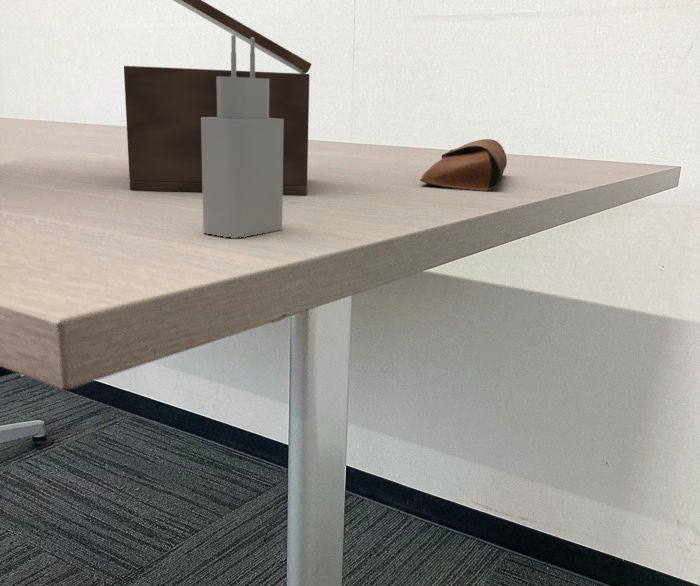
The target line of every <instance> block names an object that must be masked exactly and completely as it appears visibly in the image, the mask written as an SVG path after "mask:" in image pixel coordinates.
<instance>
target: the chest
mask: <svg viewBox="0 0 700 586" xmlns="http://www.w3.org/2000/svg"><path fill="white" fill-rule="evenodd" d="M216 76H224V77H231V69H229V70H228V69H209V68H207V69H206V68H183V67H162V66H140V65H139V66H138V65H124V66H123V78H124V79H123V80H124V82H123V83H124V98H125V100H124V101H125V102H124V103H125V115H126V116H125V117H126V119H125V121H126V135H127V137H126V139H127V141H126V142H127V157H128V158H127V159H128V180H129V190H130V191H147V192H148V191H150V192H151V191H152V192H179V193H180V192H182V193H183V192H184V193H203V192H202V143H201V117H217V81H216ZM236 77H245V78H250V70H236ZM310 77H311V76H310V73H305V74H301V73H299V72H297V73H295V72H273V71H255V78H263V79H269V118H277V119H284V129H283V195H284V196H285V195H286V196H287V195H289V196H307V195H308V168H309V167H308V166H309V165H308V163H309V160H308V159H309V122H310V121H309V117H310V116H309V114H310Z"/></svg>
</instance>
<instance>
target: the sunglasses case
mask: <svg viewBox="0 0 700 586" xmlns="http://www.w3.org/2000/svg"><path fill="white" fill-rule="evenodd" d="M440 156H441V159H440V160H438V161H436V162H435V163H434V164H433V165H432V166H430V167H429V168H428V169H427V170H426V171H425V172H424V173H423V174H422V175H421V177H420V179H419V180H420V182H421V183H425V184H427V185H433V186H437V187H442V188H445V189H451V190H461V191H463V190H464V191H473V192H474V191H476V192H481V191H482V192H489V191H490V190H492V189H494V188H496V186H497V185H498V184H500V183H501V181H502V178H503V176H504V175H503V174H504V171H505V170H506V167H507V164H508V160H507V155H506V152H505V149H504V147H503V146H502V144H501V143H500V142H498V141H497V140H495V139H492V138H483V139H478V140H474V141H470V142H468V143H465V144H463V145H461V146H459V147H457V148H451V149H450V150H449V151H447V152H445V153H443V154H441V155H440Z"/></svg>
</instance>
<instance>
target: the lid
mask: <svg viewBox="0 0 700 586" xmlns="http://www.w3.org/2000/svg"><path fill="white" fill-rule="evenodd" d="M172 1H173V2H175V3H177V4H179V5H180V6H182V7H184V8H186V9H188V10H189V11H191V12H193V13H194V14H196V15H198V16H200V17H201V18H204V19H205V20H207V21H208V22H210V23H211V24H214V25H215V26H217V27H218V28H220V29H223V30H224V31H226V32H227V33H230V34H231V35H235V36H236V38H238V39H240V40H241V41H243V42H245V43H247V44H248V45H250V38H251V37H253V38H255V49H257V50H259V51H261V52H262V53H264V54H266V55H268V56H270V57H271V58H273V59H274V60H276V61H278V62H280V63H281V64H283V65H285V66H287V67H288V68H290V69H292V70H293V71H296V72H297V73H300V74H308V73H309V71H310V69H311V67H312V63H311V62H309V61H307V60H306V59H305V58H302V57H301V56H299V55H297V54H295V53H293V52H292V51H290V50H288V49H287V48H285V47H283V46H282V45H280V44H278V43H277V42H275V41H273V40H271V39H270V38H268V37H266V36H264V35H263V34H261V33H259V32H258V31H256V30H254V29H252V28H251V27H249V26H247V25H246V24H243V23H242V22H240V21H238V20H237V19H235V18H233V17H232V16H230V15H228V14H226V13H224V12H223V11H221V10H219V9H218V8H216V7H214V6H213V5H211V4H209V3H207V2H205V1H204V0H172Z"/></svg>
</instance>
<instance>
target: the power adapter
mask: <svg viewBox="0 0 700 586" xmlns="http://www.w3.org/2000/svg"><path fill="white" fill-rule="evenodd" d="M230 37H231V39H230V41H231V43H230V44H231V52H230V70H231V77H224V76H216V81H217V117H201V143H202V192H201V193H202V233H203V232H204V233H208V234H214V235H217V236H216V237H220V236H223V237H222V238H226V237H231V238H230V239H242V238H241V237H244V238H248V237H247V236H249V237H252V236H251V235H253V236H258V235H263V234H267V233H271V232H276V231H281V230H283V206H284V205H283V129H284V119H277V118H269V79H263V78H255V72H256V54H255V49H256V48H255V38H253V37H251V38H250V44H249V45H250V46H249V47H250V50H249V51H250V53H249V71H250V78H245V77H236V71H237V44H236V43H237V39H236V38H237V37H236V36H235V35H233V34H231V35H230ZM204 233H203V234H204ZM262 233H263V234H262ZM208 234H207V235H208ZM257 234H258V235H257ZM214 235H213V236H214ZM238 237H240V238H238Z"/></svg>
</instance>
